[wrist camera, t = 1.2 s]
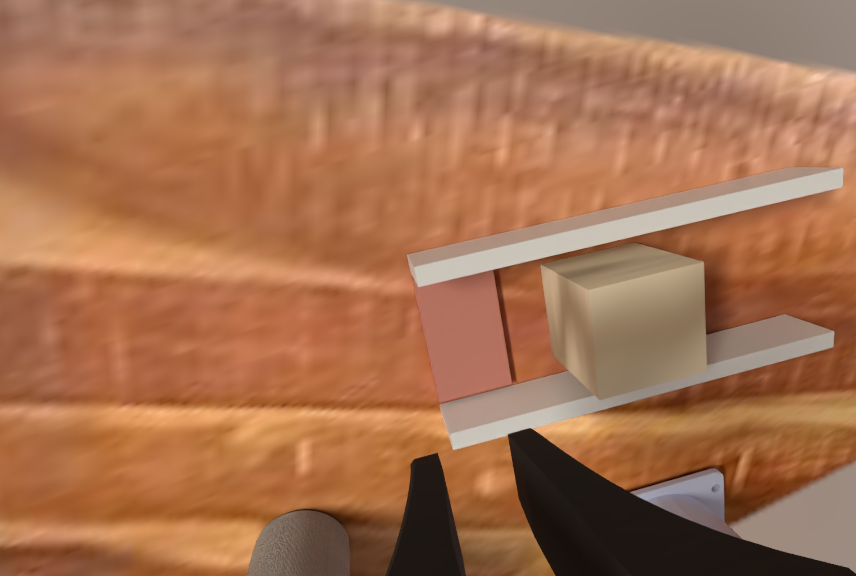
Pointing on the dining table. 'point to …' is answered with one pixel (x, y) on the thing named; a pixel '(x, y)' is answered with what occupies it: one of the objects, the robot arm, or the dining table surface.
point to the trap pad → (464, 335)
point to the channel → (564, 391)
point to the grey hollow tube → (301, 547)
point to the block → (626, 317)
